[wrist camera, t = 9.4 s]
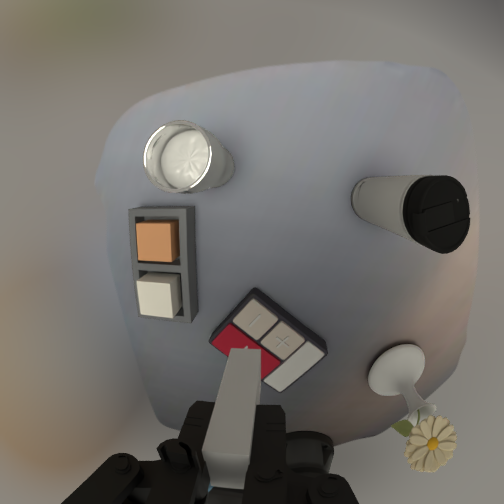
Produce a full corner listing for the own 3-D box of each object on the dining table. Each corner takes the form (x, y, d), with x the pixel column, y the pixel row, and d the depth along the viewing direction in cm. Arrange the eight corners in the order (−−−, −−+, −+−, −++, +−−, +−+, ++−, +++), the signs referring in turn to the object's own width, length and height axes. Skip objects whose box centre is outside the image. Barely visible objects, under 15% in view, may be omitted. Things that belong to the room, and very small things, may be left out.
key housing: (198, 311, 42) (191, 323, 38) (148, 306, 43) (138, 316, 39) (194, 206, 38) (186, 208, 34) (141, 206, 39) (128, 209, 35)
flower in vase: (431, 348, 41) (497, 438, 16) (397, 393, 44) (439, 490, 19) (382, 328, 40) (450, 440, 16) (346, 379, 43) (378, 497, 19)
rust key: (181, 254, 39) (171, 262, 35) (150, 253, 39) (138, 260, 35) (180, 219, 38) (170, 223, 34) (148, 219, 38) (136, 223, 34)
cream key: (181, 306, 40) (173, 318, 36) (151, 303, 40) (140, 314, 36) (179, 274, 38) (169, 283, 35) (148, 272, 39) (136, 281, 35)
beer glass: (185, 148, 36) (136, 130, 22) (233, 137, 36) (208, 109, 21) (193, 195, 38) (146, 202, 23) (241, 186, 37) (220, 186, 23)
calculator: (252, 294, 37) (330, 355, 38) (255, 284, 41) (326, 341, 42) (205, 344, 40) (280, 396, 40) (212, 331, 44) (281, 381, 44)
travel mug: (343, 183, 36) (409, 183, 17) (384, 173, 35) (471, 169, 16) (353, 226, 37) (422, 267, 18) (394, 215, 36) (481, 244, 17)
